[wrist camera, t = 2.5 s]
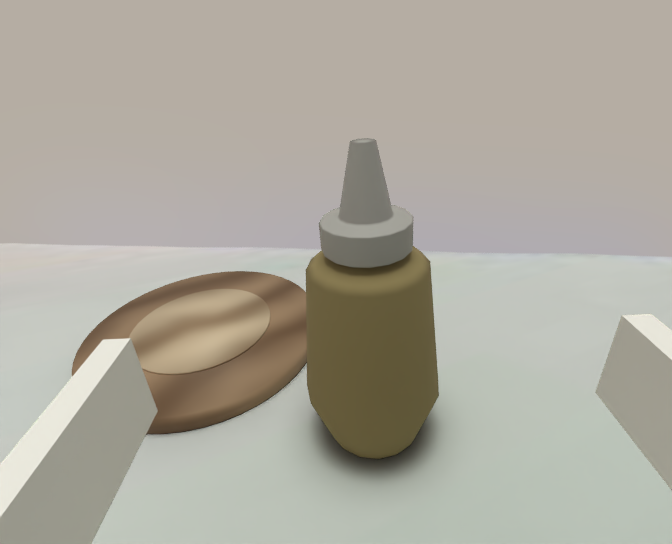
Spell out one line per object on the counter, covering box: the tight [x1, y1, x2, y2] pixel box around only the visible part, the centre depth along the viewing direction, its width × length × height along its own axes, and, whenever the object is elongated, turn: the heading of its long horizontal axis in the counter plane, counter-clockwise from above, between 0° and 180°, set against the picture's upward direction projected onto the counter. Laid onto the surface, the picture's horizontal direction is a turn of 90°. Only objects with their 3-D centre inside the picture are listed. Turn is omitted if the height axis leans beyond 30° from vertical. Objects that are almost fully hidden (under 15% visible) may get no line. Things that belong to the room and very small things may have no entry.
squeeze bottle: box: [306, 139, 439, 459], centre depth 22 cm, size 8×8×18 cm
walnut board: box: [72, 271, 307, 434], centre depth 35 cm, size 20×20×2 cm
